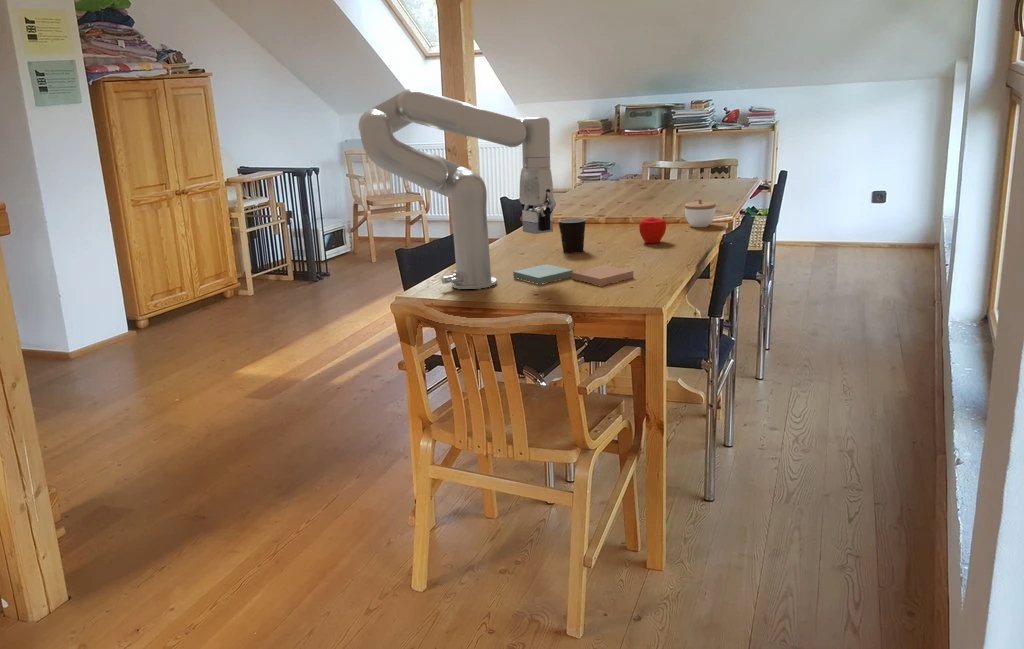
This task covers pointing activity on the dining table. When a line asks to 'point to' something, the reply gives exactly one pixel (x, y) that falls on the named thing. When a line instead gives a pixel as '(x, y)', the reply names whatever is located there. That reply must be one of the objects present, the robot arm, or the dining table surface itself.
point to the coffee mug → (572, 234)
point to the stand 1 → (543, 273)
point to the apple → (652, 229)
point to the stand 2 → (602, 275)
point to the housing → (534, 221)
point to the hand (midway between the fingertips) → (537, 228)
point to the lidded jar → (700, 213)
